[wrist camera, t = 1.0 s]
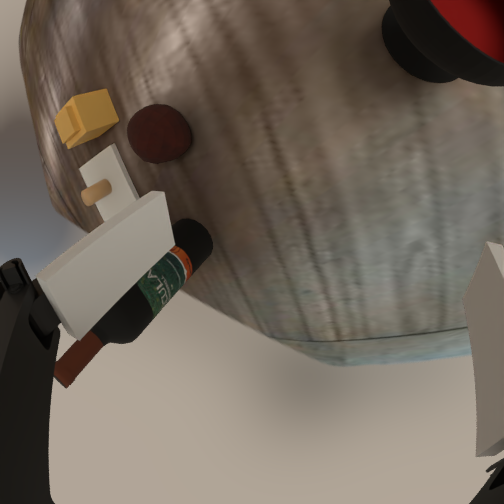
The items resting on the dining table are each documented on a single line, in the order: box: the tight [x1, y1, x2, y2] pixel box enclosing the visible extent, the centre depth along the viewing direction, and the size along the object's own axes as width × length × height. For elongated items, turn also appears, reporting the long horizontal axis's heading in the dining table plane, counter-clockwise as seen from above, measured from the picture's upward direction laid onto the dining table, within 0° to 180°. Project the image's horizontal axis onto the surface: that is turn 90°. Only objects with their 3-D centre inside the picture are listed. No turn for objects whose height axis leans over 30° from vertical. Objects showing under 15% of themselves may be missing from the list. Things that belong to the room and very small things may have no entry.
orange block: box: [54, 89, 119, 149], centre depth 37 cm, size 6×6×8 cm
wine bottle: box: [54, 219, 213, 388], centre depth 35 cm, size 8×8×30 cm
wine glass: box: [382, 0, 504, 86], centre depth 12 cm, size 10×10×20 cm
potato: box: [127, 104, 191, 164], centre depth 34 cm, size 8×9×8 cm
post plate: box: [79, 143, 140, 222], centre depth 46 cm, size 12×12×6 cm
